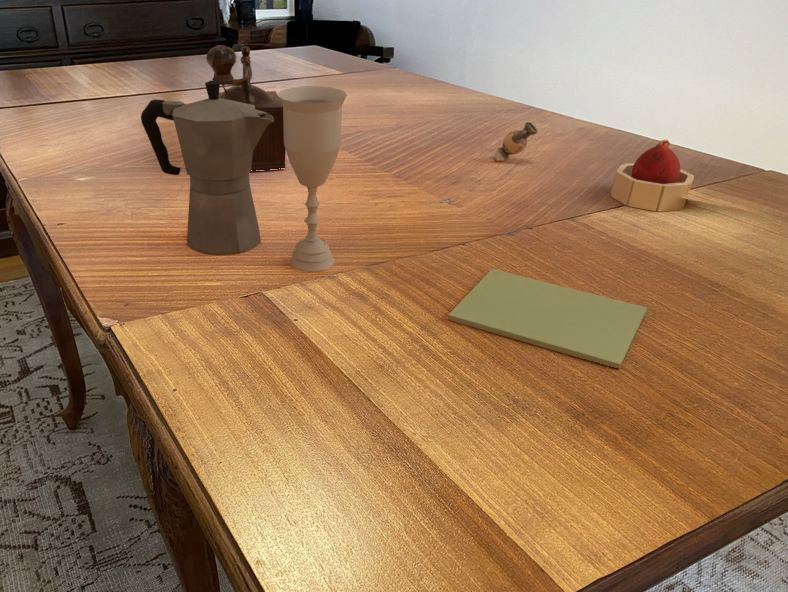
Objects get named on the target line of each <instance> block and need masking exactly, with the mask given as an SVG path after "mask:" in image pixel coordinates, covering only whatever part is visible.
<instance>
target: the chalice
mask: <svg viewBox="0 0 788 592" xmlns="http://www.w3.org/2000/svg"><path fill="white" fill-rule="evenodd" d="M277 95H278V97H279V99H280V101H281V103H282V105H283V123H284V146H285V149H286V151H285V153H286V155H287V158H288V161H289V164H290V166H291V168H292V170H293V172H294V174H295V176H296V178H297V180H298V182H299V184H300V185H302V186H304V187H306V188H307V193H308V194H307V198H306V201H305V203H304V206H305V207H306V208H307V216H306V218H304V220H303V221H304V223H306V225H307V235H305V237H304V238H302V239H299V240H298V242H297V243H296V245H295V249H294V250H293V252H292V256H291V257H290V259H289V264H290V266H292V267H293V268H294V269H296V270H300V271H303V272H322V271H326V270H329V269H330V268H332V267H333V266H335V263H336V261H335V258H334V257H333V256H332V251H331V250H330V246H329V244H328V243H327V242H326V240H324V239H323V238H321V237H320V236H318V233H317V228H318V224H319V223H321V219H320V218H319V217H318V214H317V211H318V207H319V206H320V202H319V201H318V196H317V191H318V188H319V187H321V186H323V185H325V184H326V182H327V180H328V178H329V175H330V173H331V172H332V170H333V167H334V165H335V163H336V160H337V157H338V154H339V151H340V148H341V145H342V118H343V117H342V115H343V114H342V113H343V105H344V102H345V100H346V98H347V96H348V93H347V92H345V91H344V90H342V89H339V88H335V87H329V86H320V85H319V86H318V85H305V86H303V85H302V86H293V87H289V88H285V89H283V90H282V89H281V90H280V91H279V92H278V93H277Z"/></svg>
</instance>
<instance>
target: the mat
mask: <svg viewBox="0 0 788 592" xmlns="http://www.w3.org/2000/svg"><path fill="white" fill-rule="evenodd" d="M647 310H648V307H647V306H644V305H639V304H636V303H631V302H627V301H623V300H619V299H616V298H611V297H608V296H604V295H603V296H602V295H599V294H595V293H591V292H587V291H583V290H579V289H575V288H570V287H567V286H563V285H559V284H555V283H551V282H546V281H543V280H539V279H535V278H531V277H527V276H522V275H519V274H514V273H510V272H506V271H503V270H498V269H495V268H491V269H490V270H489V271H488V272H487V273H486V275H484V276H483V278H481V280H480V281H479V282H478V283H477V284H476V285H475V286H474V287H473V288H472V289H471V290H470V291H469V292H468V293H467V294H466V296H465V297H463V298H462V299H461V301H460V302H459V303H458V304H457V305H456V306H455V307H454V308H453V309H452V310H451V311H450V312H449V313H448V314H447V320H448V321H451V322H454V323H458V324H460V325H465V326H467V327H471V328H474V329H478V330H481V331H485V332H489V333H492V334H495V335H498V336H502V337H505V338H509V339H512V340H516V341H519V342H522V343H526V344H530V345H533V346H536V347H539V348H543V349H547V350H550V351H553V352H558V353H561V354H564V355H567V356H571V357H574V358H578V357H579V358H578V359H582V360H584V359H586V360H585V361H588V360H589V361H588V362H591V361H593V362H592V363H595V362H598V363H600V364H599V365H602V364H604V365H603V366H605V365H609V366H611V367H610V368H612V367H614V368H613V369H615V368H619V369H620V368H621V366H622V364H623V362H624V360H625V357H626V356H627V353H628V351H629V349H630V347H631V345H632V344H633V341H634V338H635V336H636V335H637V332H638V331H639V328H640V326H641V324H642V321H643V319H644V317H645V315H646V313H647ZM598 363H597V364H598ZM609 366H608V367H609Z"/></svg>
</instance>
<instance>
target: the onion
mask: <svg viewBox="0 0 788 592" xmlns="http://www.w3.org/2000/svg"><path fill="white" fill-rule="evenodd" d="M670 144H671V142H670V141H669V140H668V139H666V138H665V139H662V140H660V141H659V142H658V143H657V144H656V145H655V146H653V147H649V148H648V149H647V150H645V151H644V152H643V153H641V154H640V156H638V158H637V159H636V160H635V162H633V163H634V166H633V168H632V177H633V178H634V179H636V180H642V181H647V182H653V183H659V184H670V183H676V181H677V179H678V177H679V174H680V169H681V162H680V160H679V158H678V156H677V154H676V153H675V152H674V151H673V150H672V149H671V148H669V146H670Z"/></svg>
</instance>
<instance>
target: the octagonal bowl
mask: <svg viewBox="0 0 788 592" xmlns="http://www.w3.org/2000/svg"><path fill="white" fill-rule="evenodd" d="M634 163H635V162H630V163H623V164H621V165H620V166H619V167H618V168H617V169H616V170H615V173H614V178H613V181H612V187H611V191H610V197H611V198H613V199H614V200H616V201H618V202H619V203H621V204H622V205H624V206H627V207H631V208H636V209H641V210H645V211H650V212H651V211H652V212H659V213H660V212H661V213H662V212H669V211H670V212H671V211H682V210H684V208H685V207H686V205H687V203H688V201H689V199H688V198H684V197H686V196H688V195H689V194H690V191H691V189H692V187H693V183H694V179H695V175H693V174H692V173H689V172H688V171H685V170H684V169H682V168H680V174H679V177H678V179H677V181H676V183H670V184H659V183H653V182H647V181H642V180H636V179H634V178H633V177H632V168H633V166H634Z"/></svg>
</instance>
